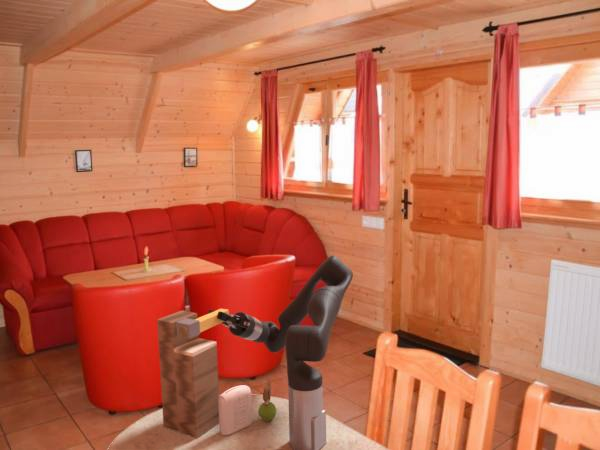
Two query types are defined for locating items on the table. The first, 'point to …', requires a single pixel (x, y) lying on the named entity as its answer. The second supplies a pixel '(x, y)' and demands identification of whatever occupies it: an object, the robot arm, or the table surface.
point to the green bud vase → (267, 404)
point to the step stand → (187, 378)
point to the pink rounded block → (235, 409)
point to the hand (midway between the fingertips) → (214, 313)
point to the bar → (198, 324)
